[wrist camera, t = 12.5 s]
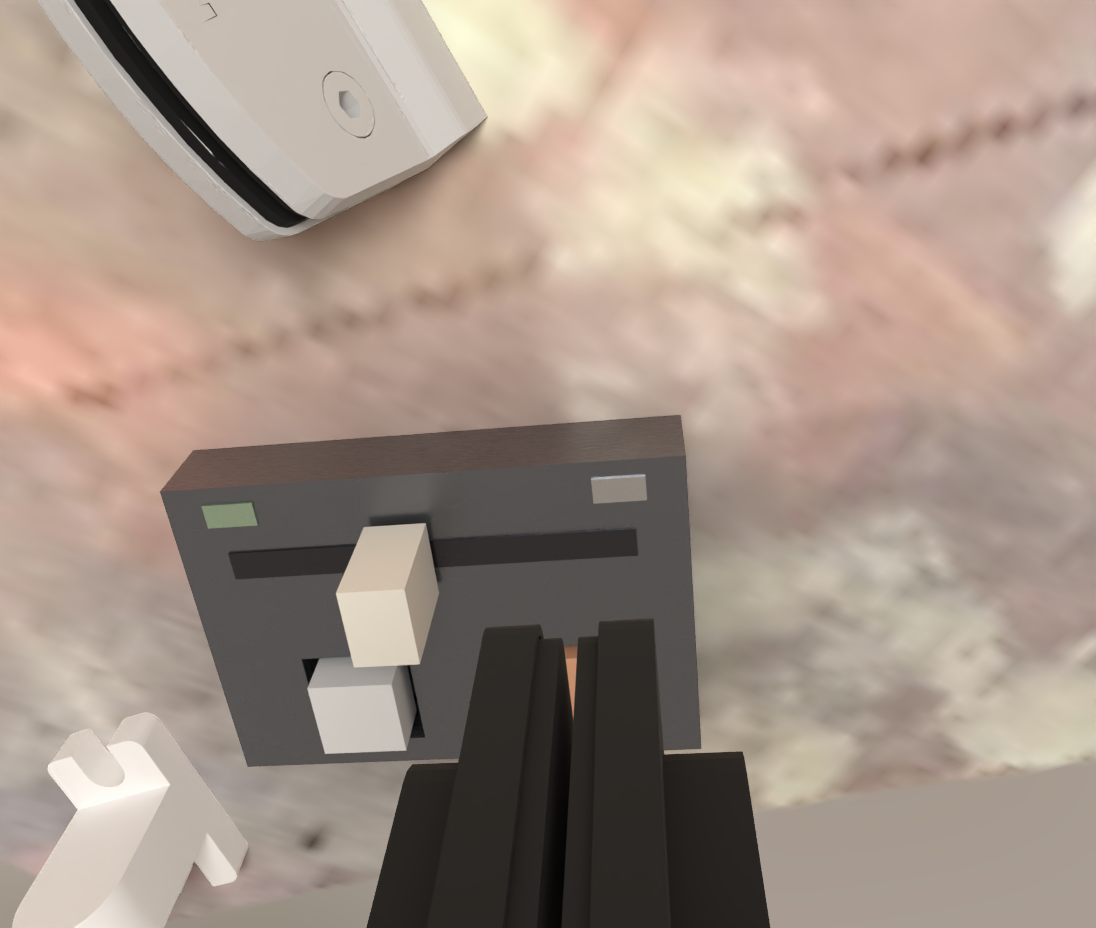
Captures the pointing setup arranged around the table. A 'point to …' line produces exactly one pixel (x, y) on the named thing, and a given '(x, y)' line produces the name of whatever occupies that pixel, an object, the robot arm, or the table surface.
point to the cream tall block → (388, 596)
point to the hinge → (277, 97)
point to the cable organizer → (129, 833)
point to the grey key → (362, 706)
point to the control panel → (436, 562)
